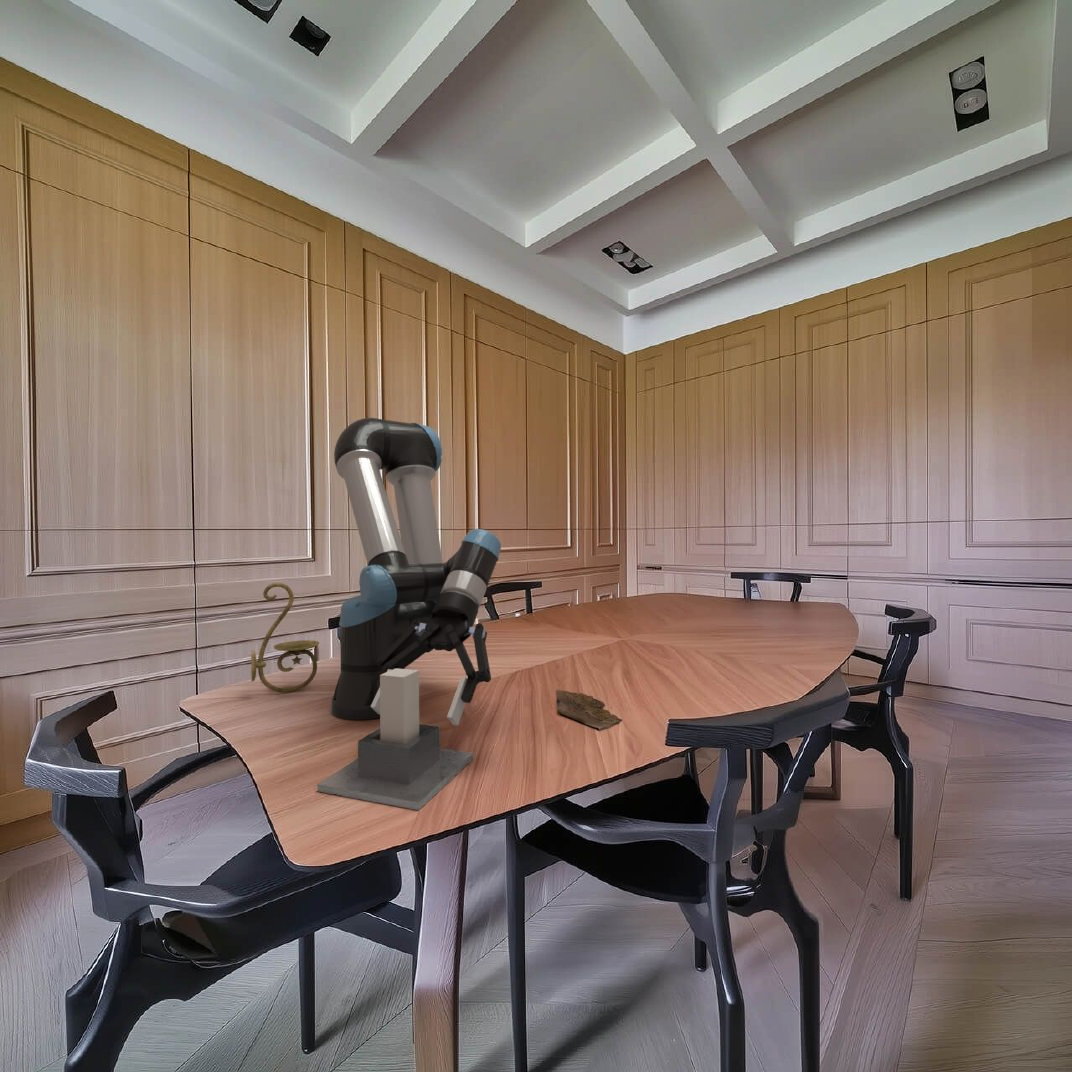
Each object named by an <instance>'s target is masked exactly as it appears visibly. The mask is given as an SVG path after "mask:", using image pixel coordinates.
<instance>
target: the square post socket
mask: <svg viewBox="0 0 1072 1072" xmlns="http://www.w3.org/2000/svg"><path fill="white" fill-rule="evenodd" d="M440 733H441V729H440V726H435V725H428V724H427V725H426V724H420V723H419V736H417V737H416V738H414V739H413V740H411V741H410V742H408V743H407V744H404V743H397V742H390V741H383V740H380V727H379V728H378V729H376V730H374V731H372V732H370V733H369V734H367V735H366V736H364V737H361V738H360V739H359V740H357V759H355V760H353V761H352V762H350V763H349V764H347V765H345V766H344V767H342V768H340V769H339V770H337V771H336V772H334V773H332V774H331V775H330V776H328V777H327V778H325V779H323V780H322V781H320V782H319V783H317V784H316V785H317V787H316V789H317V792H319V793H325V794H330V795H334V794H338V795H337V796H339V795H342V796H341V797H345V796H346V797H345V798H351V799H356V800H361V801H367V802H372V803H378V804H383V805H388V806H392V807H398V808H405V809H410V810H413V811H420V810H421V808H423V807H424V806H425V805H426V804H427V803H428V802H429V801H430V800H432V799H433V798H434V797H435V796H436V795H437V794H439V792H440V791H441V790H442V789H443V788H444V787H445V786H446V785H447V784H449V783H450V781H451V782H452V780H453V779H454V778H455V777H456V776H457V775H458V774H460V772H461V771H462V770H463V769H464V768H466V767H467V766H468V764H470V763H471V762H472V761H473V760H474V752H470V751H464V750H456V749H449V748H442V747H440V745H441V740H440V735H441V734H440ZM466 765H467V766H466ZM456 774H457V775H456ZM455 775H456V776H455ZM451 779H452V780H451Z"/></svg>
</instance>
